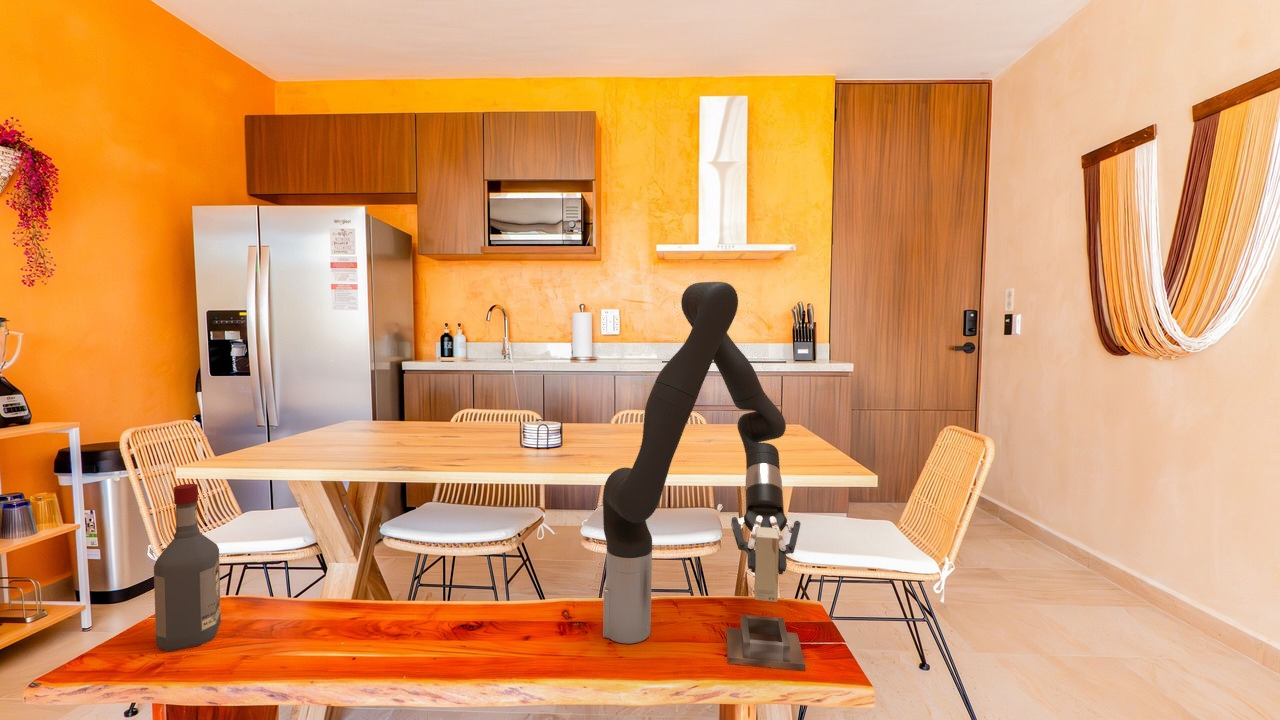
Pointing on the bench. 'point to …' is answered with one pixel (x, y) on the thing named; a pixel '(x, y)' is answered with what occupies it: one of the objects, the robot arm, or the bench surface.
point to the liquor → (187, 581)
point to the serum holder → (764, 644)
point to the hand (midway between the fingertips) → (767, 571)
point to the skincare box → (766, 564)
